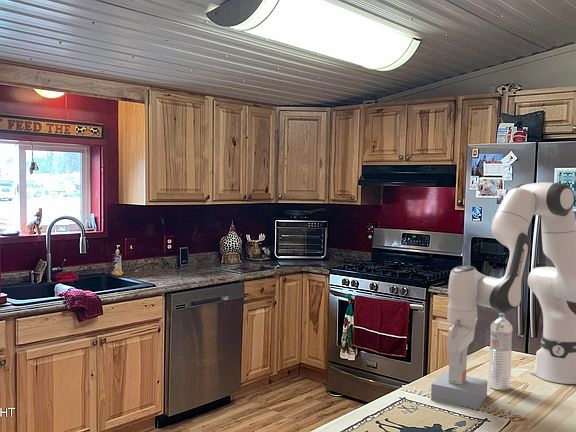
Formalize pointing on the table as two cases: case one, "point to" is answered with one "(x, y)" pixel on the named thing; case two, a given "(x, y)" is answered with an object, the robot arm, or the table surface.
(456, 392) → the base block
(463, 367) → the skincare box
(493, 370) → the water bottle
